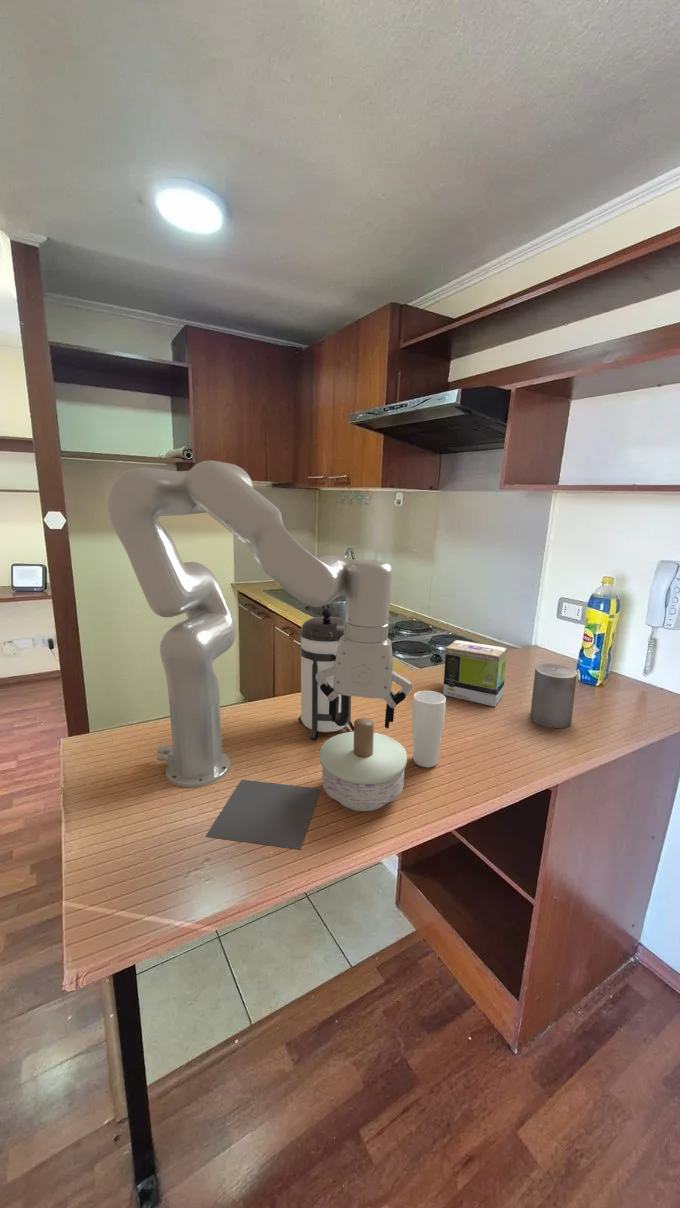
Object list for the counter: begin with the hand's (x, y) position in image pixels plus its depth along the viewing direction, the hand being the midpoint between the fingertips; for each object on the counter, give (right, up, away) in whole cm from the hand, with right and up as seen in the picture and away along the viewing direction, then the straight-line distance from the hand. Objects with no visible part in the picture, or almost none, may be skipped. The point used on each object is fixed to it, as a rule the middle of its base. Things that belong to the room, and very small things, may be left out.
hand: (360, 721), depth 84 cm
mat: (-17, -16, -2) cm, 23 cm away
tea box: (+35, -5, +49) cm, 60 cm away
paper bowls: (0, -15, +3) cm, 15 cm away
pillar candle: (+50, -9, +35) cm, 62 cm away
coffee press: (-6, -9, +28) cm, 30 cm away
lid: (0, -7, +1) cm, 7 cm away
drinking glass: (+15, -13, +15) cm, 24 cm away
